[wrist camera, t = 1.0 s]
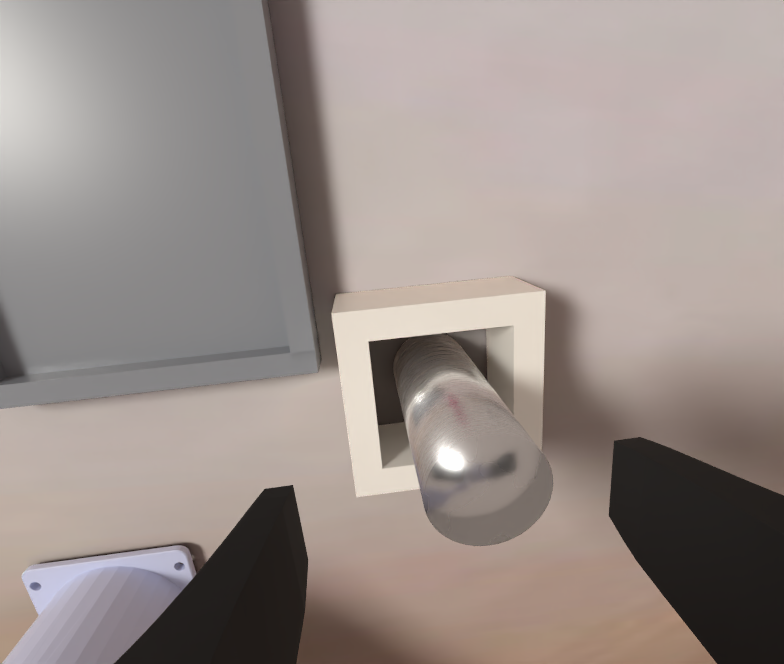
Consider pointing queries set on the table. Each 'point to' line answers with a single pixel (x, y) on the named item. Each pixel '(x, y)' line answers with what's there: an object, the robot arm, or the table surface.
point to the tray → (146, 201)
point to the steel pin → (467, 446)
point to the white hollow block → (425, 317)
